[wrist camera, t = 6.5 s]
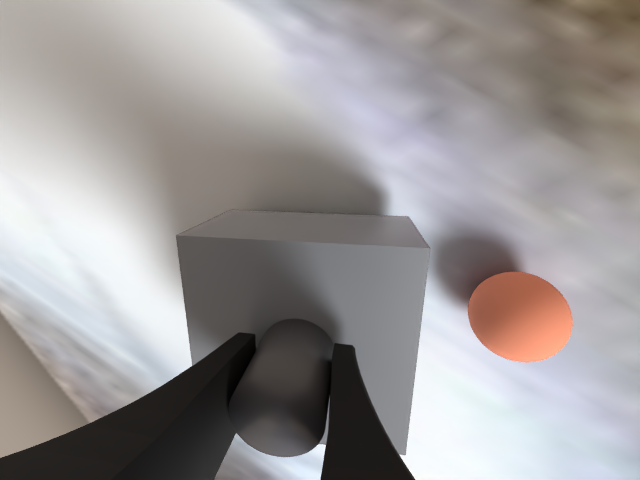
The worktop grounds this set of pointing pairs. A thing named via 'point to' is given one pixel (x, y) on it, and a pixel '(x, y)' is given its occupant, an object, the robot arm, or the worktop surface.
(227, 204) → the worktop surface
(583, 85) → the worktop surface
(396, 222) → the grey block
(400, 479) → the robot arm
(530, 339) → the ball
